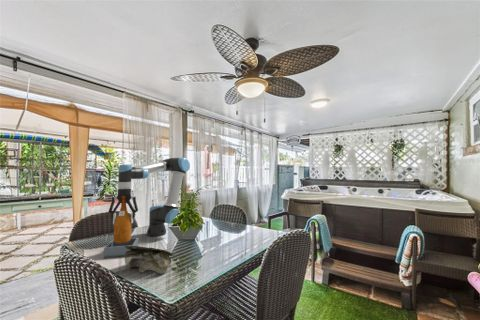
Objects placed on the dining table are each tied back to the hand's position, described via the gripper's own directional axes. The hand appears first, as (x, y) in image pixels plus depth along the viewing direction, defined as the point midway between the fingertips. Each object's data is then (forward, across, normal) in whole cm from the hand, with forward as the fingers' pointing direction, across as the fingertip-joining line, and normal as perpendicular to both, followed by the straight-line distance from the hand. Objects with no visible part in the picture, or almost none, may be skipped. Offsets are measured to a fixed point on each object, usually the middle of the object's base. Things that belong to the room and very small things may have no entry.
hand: (123, 223), depth 137 cm
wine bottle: (+12, 0, 0) cm, 12 cm away
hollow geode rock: (+18, -19, +28) cm, 38 cm away
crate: (+18, 0, 0) cm, 18 cm away
